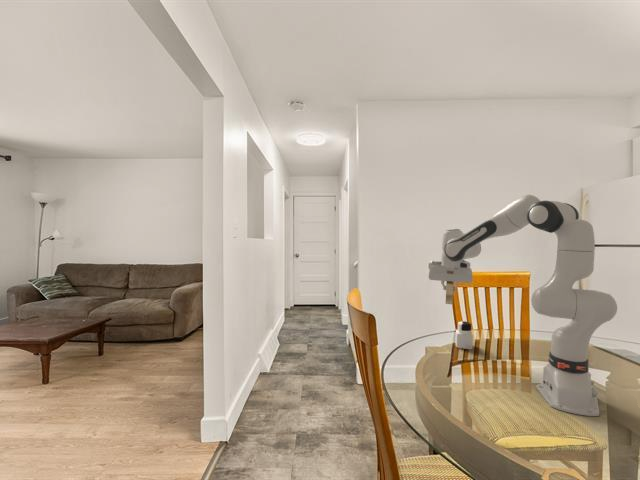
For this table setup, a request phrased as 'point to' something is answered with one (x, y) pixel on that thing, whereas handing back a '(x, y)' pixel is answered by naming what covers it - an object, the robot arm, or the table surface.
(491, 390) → the table surface
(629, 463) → the table surface
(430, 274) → the robot arm
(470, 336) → the medicine bottle
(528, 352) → the table surface
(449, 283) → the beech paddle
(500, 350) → the table surface
